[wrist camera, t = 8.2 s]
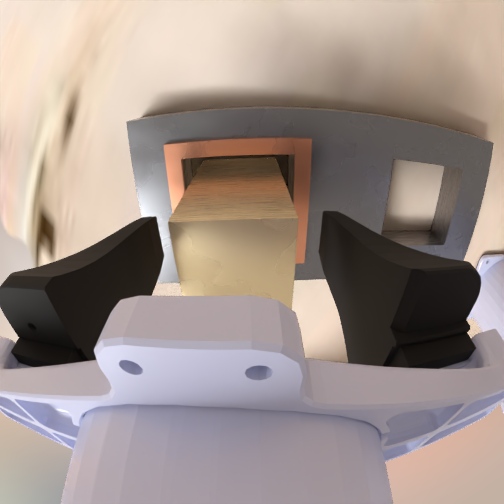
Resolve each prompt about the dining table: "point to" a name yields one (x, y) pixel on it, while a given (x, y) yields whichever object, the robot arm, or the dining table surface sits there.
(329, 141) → the socket rail
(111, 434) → the robot arm
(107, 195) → the dining table surface
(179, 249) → the brass peg
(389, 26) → the dining table surface
